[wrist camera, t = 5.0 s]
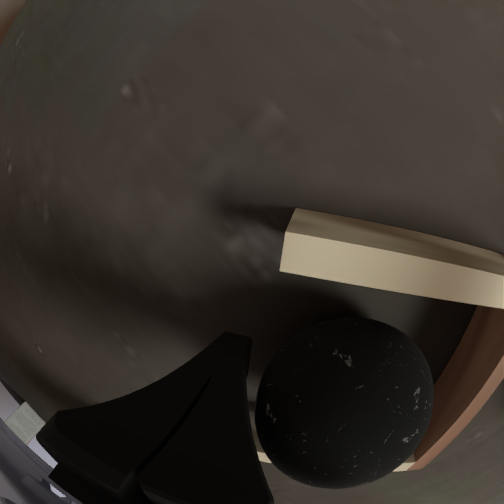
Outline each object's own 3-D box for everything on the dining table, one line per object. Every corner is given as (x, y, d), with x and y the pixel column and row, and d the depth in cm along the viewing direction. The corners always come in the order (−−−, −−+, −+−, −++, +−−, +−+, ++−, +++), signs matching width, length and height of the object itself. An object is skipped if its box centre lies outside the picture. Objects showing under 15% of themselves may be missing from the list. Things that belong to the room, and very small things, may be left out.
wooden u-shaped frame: (258, 413, 13) (245, 457, 10) (296, 207, 9) (285, 231, 6) (415, 429, 11) (420, 469, 9) (510, 256, 7) (550, 287, 5)
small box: (42, 426, 33) (16, 456, 24) (23, 405, 33) (-4, 434, 23) (46, 423, 30) (16, 457, 21) (25, 400, 30) (-7, 432, 20)
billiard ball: (390, 396, 11) (400, 502, 5) (271, 391, 12) (239, 498, 7) (427, 290, 9) (491, 409, 3) (273, 282, 10) (221, 412, 5)
